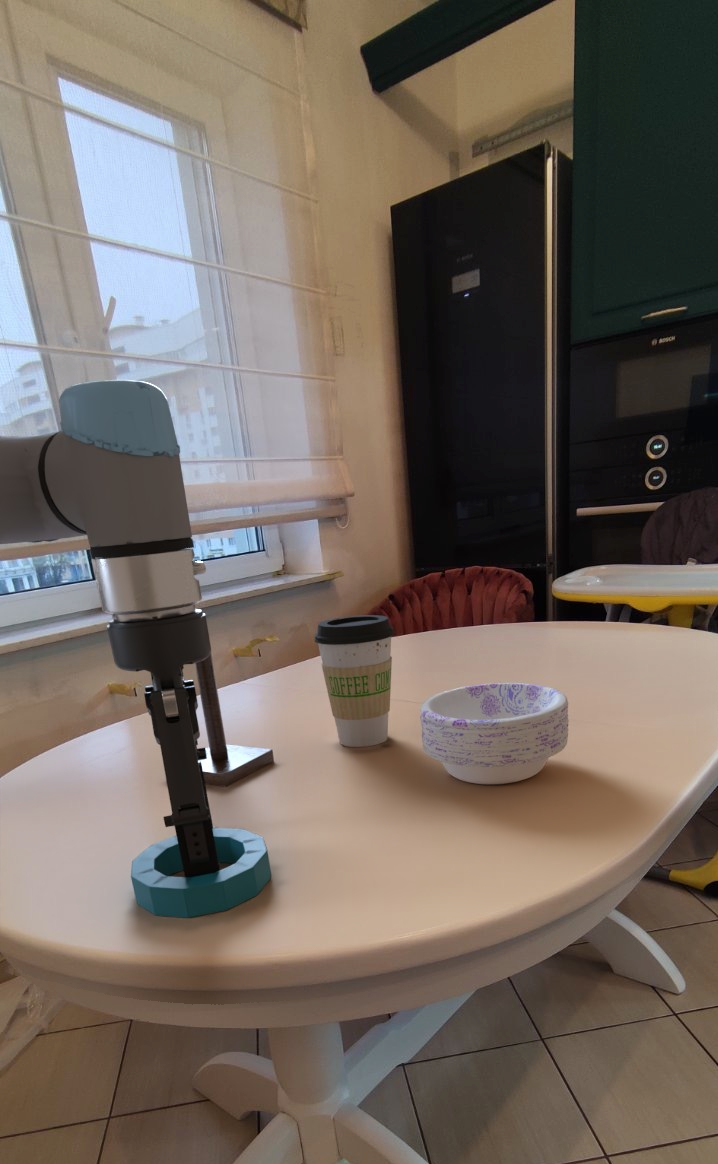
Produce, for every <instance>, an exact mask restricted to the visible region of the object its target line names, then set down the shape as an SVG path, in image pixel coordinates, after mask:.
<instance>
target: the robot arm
mask: <svg viewBox="0 0 718 1164" xmlns="http://www.w3.org/2000/svg"><path fill="white" fill-rule="evenodd" d="M58 405H59V414H60V415H59V416H60V422H59V424H60V429H61V430H58V431H55V432H49V433H44V434H38V435H25V436H24V435H23V436H21V435H0V545H8V544H10V545H11V544H20V543H21V544H22V543H35V544H36V543H42V542H48V543H51V542H55V541H58V540H62V539H71V538H76V537H77V538H78V537H83V536H86V538H87V541H88V544H89V548H90V549H89V552H90V556H91V559H90V560H91V565H92V569H93V570H92V571H93V574H94V579H95V583H96V588H97V591H98V592H97V593H98V596H99V601H100V606H101V610H102V612H103V613H105V614H106V615H111V618H112V619H111V620H109V621H108V624H107V625H106V630H107V635H108V639H109V640H108V641H109V645H110V649H111V653H112V658H113V662H114V665H115V666H116V667H117V668H118V669H120V670H122V671H125V672H133V673H135V672H141V671H146V672H149V673H150V677H151V685H147V686H144V691H145V692H144V693H143V694H144V695H143V696H144V701H145V707H146V710H147V713H148V715H149V716H150V719H151V725H152V731H153V736H154V739H155V741H156V743H157V745H159V747H160V752H161V759H162V763H163V769H164V770H163V771H164V775H165V780H166V786H167V792H168V798H169V803H170V808H171V814H170V815H165V816H163V823H164V827H165V828H169V827H174V830H175V836H176V835H177V840H178V845H179V850H180V855H181V860H182V865H183V870H182V871H183V875H184V877H187V878H190V877H195V876H201V875H206V874H211V873H215V872H217V871H220V870H221V869H220V862H218V857H217V852H216V846H215V841H214V835H213V830H212V828H214V825H213V824H214V823H213V820H212V814H211V809H210V803H209V798H208V792H207V787H206V784H205V780H204V775H203V769H202V764H201V762H199V763H198V760H203V759H207V755H206V750H205V748H206V747H200V748H199V747H198V745H199V743H198V739H199V738H200V737H201V731H200V726H199V721H198V716H197V715H198V714H197V710H198V708H199V702H198V696H197V691H196V686H195V681H194V679H189V680H185V676H184V672H183V671H184V669H185V667H184V666H185V665H193V664H194V665H195V663H197V662H200V661H203V660H205V659H206V658H208V657H209V655H210V654H212V646H211V639H210V633H209V627H208V621H207V615H206V612H205V613H204V612H203V610H202V609H199V608H196V605H197V604H199V603H200V602H201V601H202V600H203V596H202V591H201V584H200V580H199V579H198V578H197V577H195V576H198V575H199V576H200V575H204V574H205V573H206V571H207V567H206V564H205V563H204V561H201V560H197V561H193V560H194V558H195V556H196V554H195V550H194V548H195V546H194V539H193V535H192V528H191V522H190V515H189V508H188V503H187V502H188V501H187V496H186V490H185V483H184V476H183V470H182V465H181V458H180V454H181V446H180V444H179V443H178V440H177V435H176V430H175V427H174V422H173V417H172V413H171V410H170V405H169V401H168V397H167V396H166V395H165V393H164V392H163V390H162V389H161V388H159V387H158V386H156V385H154V383H153V384H152V383H150V382H146V381H140V380H130V379H107V380H106V379H105V380H94V381H87V382H81V383H76V384H73V385H69V386H68V387H66V388H64V390H63V391H62V393H61V394H60V396H59V399H58Z"/></svg>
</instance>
